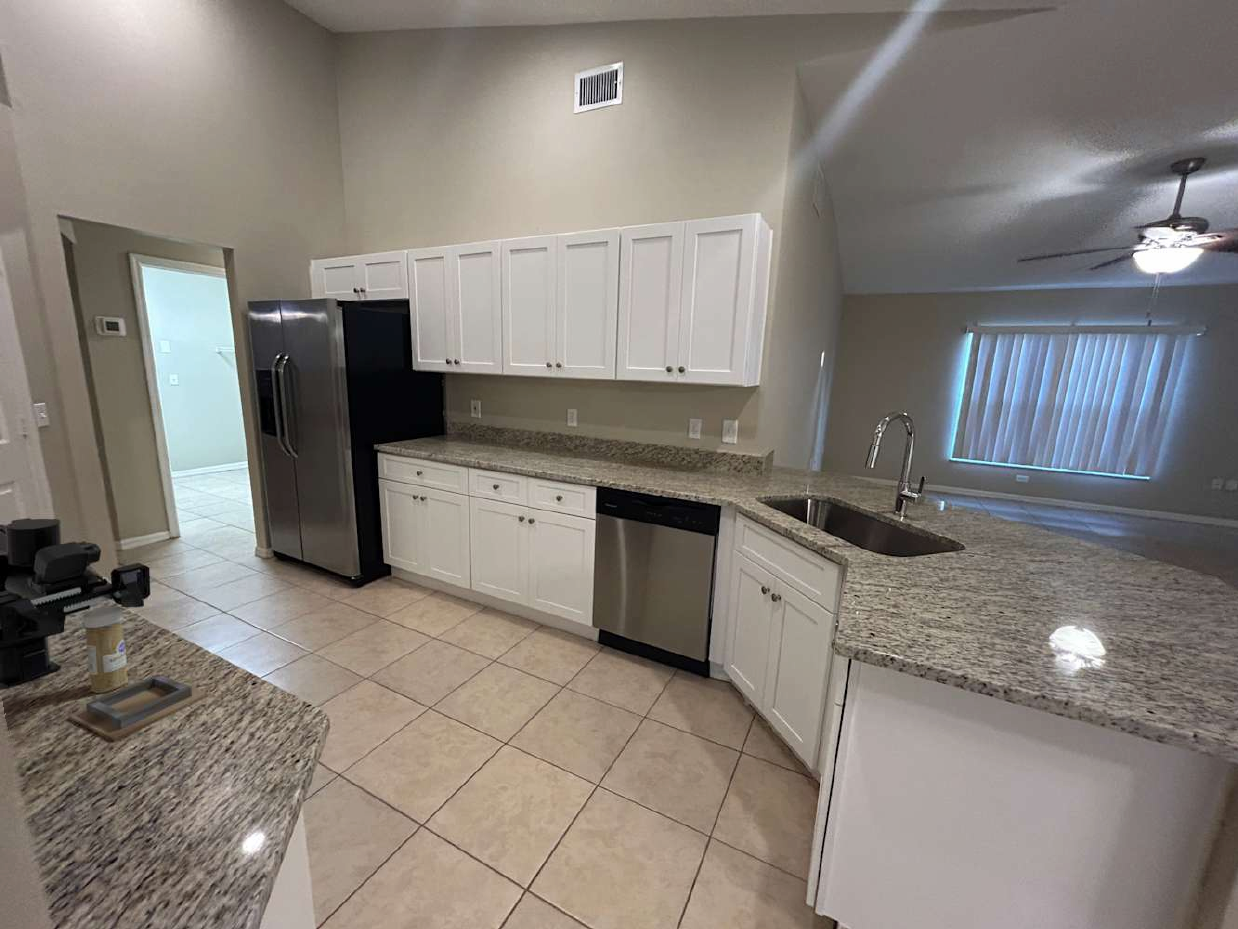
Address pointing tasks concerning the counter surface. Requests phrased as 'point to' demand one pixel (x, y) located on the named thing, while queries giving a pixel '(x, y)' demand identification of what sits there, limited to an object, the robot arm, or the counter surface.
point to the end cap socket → (136, 706)
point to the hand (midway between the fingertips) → (104, 615)
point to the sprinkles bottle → (106, 648)
